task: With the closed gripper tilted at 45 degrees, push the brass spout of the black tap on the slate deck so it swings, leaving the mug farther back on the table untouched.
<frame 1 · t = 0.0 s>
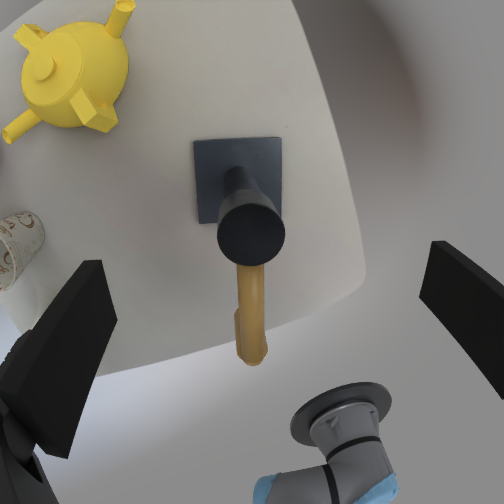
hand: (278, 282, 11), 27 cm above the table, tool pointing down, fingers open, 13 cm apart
teapot: (88, 76, 29), on the table
square base plate: (238, 179, 37), on the table
spout: (249, 281, 26), point 14 cm above the table, hinge at 0.0°
mug: (26, 242, 37), on the table
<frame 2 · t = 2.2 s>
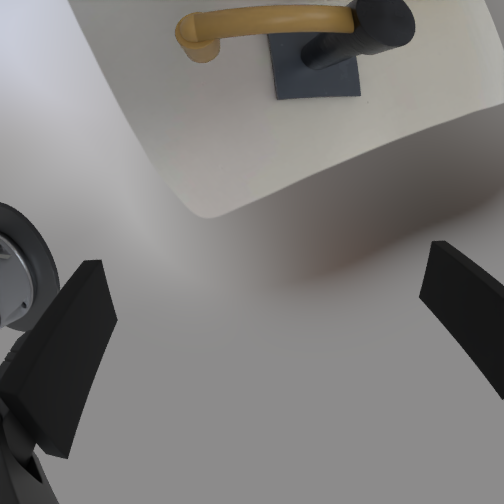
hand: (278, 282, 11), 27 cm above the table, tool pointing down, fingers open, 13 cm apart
square base plate: (313, 57, 30), on the table
spout: (290, 26, 17), point 14 cm above the table, hinge at 0.0°
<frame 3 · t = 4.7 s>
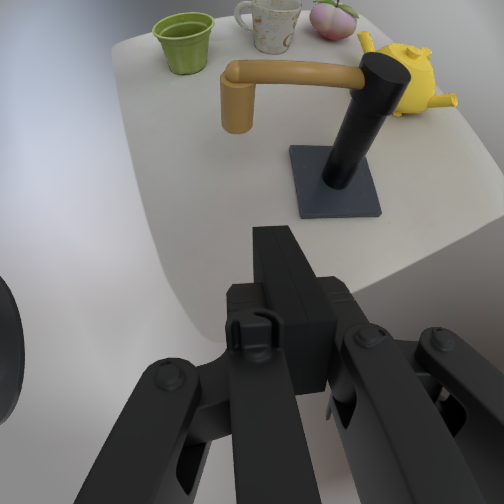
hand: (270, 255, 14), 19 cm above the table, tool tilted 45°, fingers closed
teapot: (390, 97, 45), on the table
square base plate: (333, 181, 37), on the table
plant pot: (188, 66, 45), on the table
spout: (314, 92, 24), point 14 cm above the table, hinge at 0.0°
decorative fruit: (328, 38, 50), on the table
mug: (261, 43, 48), on the table
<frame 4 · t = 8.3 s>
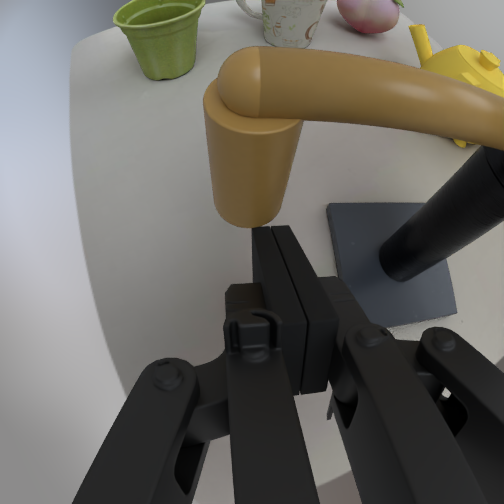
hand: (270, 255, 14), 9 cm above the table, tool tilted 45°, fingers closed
teapot: (449, 118, 31), on the table
square base plate: (393, 263, 23), on the table
plant pot: (168, 67, 31), on the table
spout: (428, 147, 10), point 14 cm above the table, hinge at 1.6°, touching gripper
decorative fruit: (360, 32, 36), on the table
mug: (272, 35, 34), on the table
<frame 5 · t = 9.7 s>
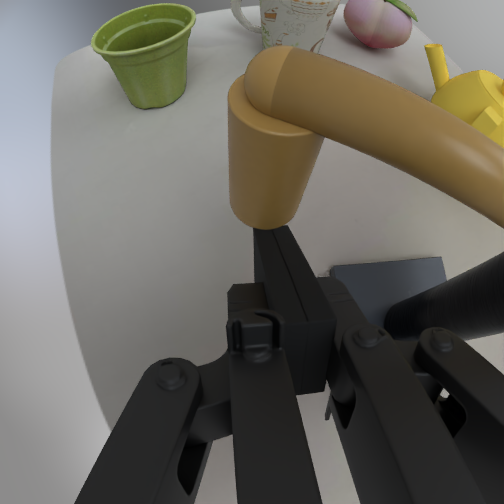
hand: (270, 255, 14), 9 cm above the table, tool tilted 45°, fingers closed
teapot: (462, 148, 29), on the table
square base plate: (398, 327, 21), on the table
plant pot: (157, 92, 28), on the table
spout: (458, 216, 8), point 14 cm above the table, hinge at 26.6°, touching gripper
decorative fruit: (368, 46, 34), on the table
mug: (272, 51, 32), on the table
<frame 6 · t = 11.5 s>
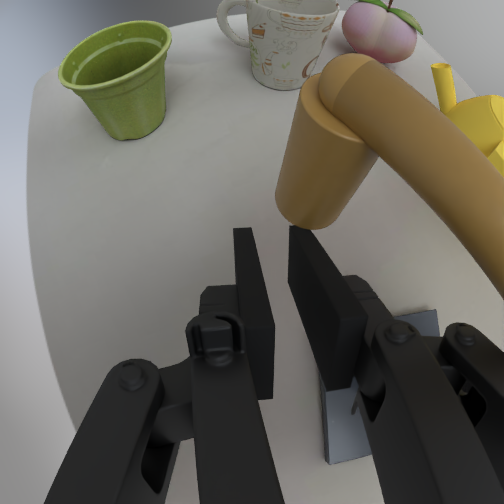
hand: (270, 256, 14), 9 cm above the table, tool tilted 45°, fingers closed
teapot: (466, 177, 27), on the table
square base plate: (384, 385, 20), on the table
plant pot: (135, 119, 27), on the table
spout: (477, 289, 8), point 14 cm above the table, hinge at 52.6°, touching gripper
decorative fruit: (367, 59, 32), on the table
mug: (262, 68, 30), on the table
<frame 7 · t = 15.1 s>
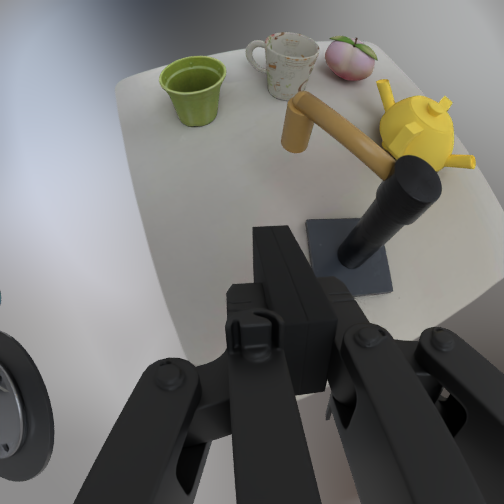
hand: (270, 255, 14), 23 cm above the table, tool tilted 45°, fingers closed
teapot: (407, 151, 45), on the table
square base plate: (348, 257, 38), on the table
plant pot: (197, 115, 46), on the table
spout: (351, 159, 26), point 14 cm above the table, hinge at 51.5°
decorative fruit: (343, 78, 51), on the table
mug: (274, 86, 49), on the table
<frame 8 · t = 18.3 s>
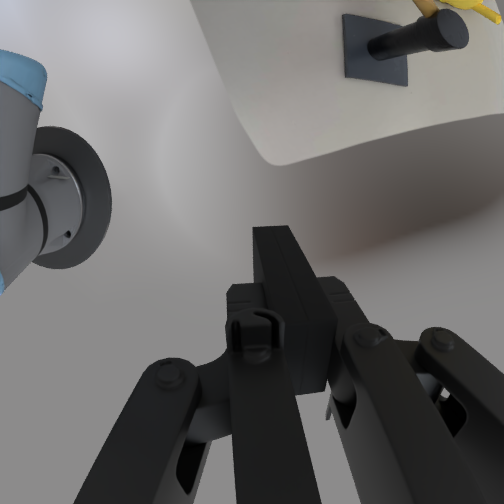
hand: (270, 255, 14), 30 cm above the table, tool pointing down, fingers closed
square base plate: (375, 50, 35), on the table
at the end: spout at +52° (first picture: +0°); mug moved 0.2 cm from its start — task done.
